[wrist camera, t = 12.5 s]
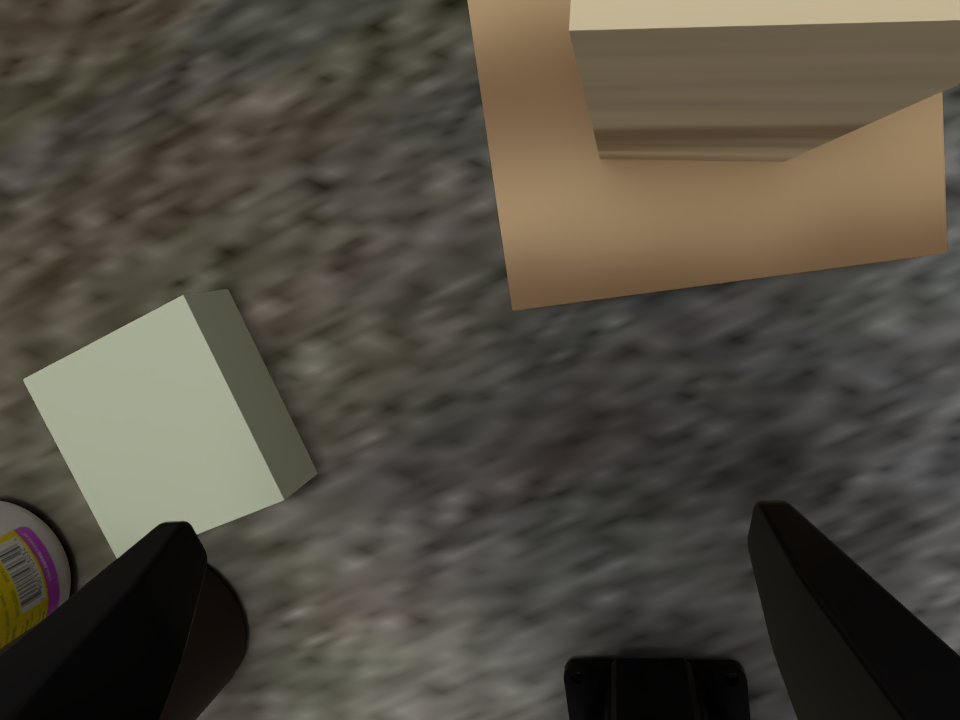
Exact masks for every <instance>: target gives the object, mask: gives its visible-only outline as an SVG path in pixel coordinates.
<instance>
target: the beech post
mask: <svg viewBox="0 0 960 720" xmlns="http://www.w3.org/2000/svg"><path fill="white" fill-rule="evenodd" d="M569 33H570V37H571V41H572V45H573V49H574V54H575V58H576V62H577V66H578V70H579V74H580V78H581V82H582V87H583V91H584V95H585V99H586V103H587V107H588V111H589V115H590V120H591V124H592V128H593V132H594V136H595V140H596V144H597V148H598V153H599V157H600V159H625V160H697V161H769V162H785V161H787V160H789V159H791V158H794V157H796V156H798V155H800V154H803V153H805V152H807V151H809V150H812V149H814V148H816V147H818V146H821V145H823V144H825V143H827V142H830V141H832V140H834V139H836V138H839V137H841V136H843V135H846V134H848V133H850V132H852V131H855V130H857V129H859V128H861V127H864V126H866V125H868V124H870V123H873V122H875V121H877V120H879V119H882V118H884V117H886V116H888V115H891V114H893V113H895V112H897V111H900V110H902V109H904V108H906V107H909V106H911V105H913V104H915V103H918V102H920V101H922V100H924V99H927V98H929V97H931V96H933V95H936V94H938V93H940V92H942V91H945V90H947V89H949V88H951V87H954V86H956V85H958V84H960V0H571V5H570V21H569Z"/></svg>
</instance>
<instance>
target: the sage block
mask: <svg viewBox="0 0 960 720" xmlns="http://www.w3.org/2000/svg"><path fill="white" fill-rule="evenodd" d="M23 381H24V383H25V385H26V387H27V389H28V391H29V392H30V394H31V396H32V398H33V400H34V402H35V404H36V406H37V408H38V410H39V412H40V413H41V415H42V417H43V419H44V421H45V423H46V425H47V427H48V429H49V431H50V432H51V434H52V436H53V438H54V440H55V442H56V444H57V446H58V448H59V450H60V452H61V453H62V455H63V457H64V459H65V461H66V463H67V465H68V467H69V469H70V471H71V472H72V474H73V476H74V478H75V480H76V482H77V484H78V486H79V488H80V490H81V492H82V493H83V495H84V497H85V499H86V501H87V503H88V505H89V507H90V509H91V511H92V513H93V514H94V516H95V518H96V520H97V522H98V524H99V526H100V528H101V530H102V532H103V533H104V535H105V537H106V539H107V541H108V543H109V545H110V547H111V549H112V551H113V553H114V554H115V556H116V558H119V557H120V556H121V555H122V554H123V553H125V552H126V551H127V550H128V549H129V548H131V547H132V546H133V545H134V544H136V543H137V542H138V541H139V540H140V539H142V538H143V537H144V536H145V535H146V534H148V533H149V532H150V531H151V530H153V529H154V528H155V527H156V526H158V525H159V524H161V523H163V522H168V521H187V522H188V523H190V524H191V525H192V527H193V529H194V531H195V532H196V534H199V533H202V532H204V531H207V530H209V529H212V528H214V527H217V526H220V525H222V524H225V523H227V522H230V521H232V520H235V519H237V518H240V517H243V516H245V515H248V514H250V513H253V512H255V511H258V510H260V509H263V508H266V507H268V506H271V505H273V504H276V503H278V502H281V501H283V500H285V499H286V498H288V497H289V496H290V495H291V494H293V493H294V492H295V491H297V490H298V489H299V488H300V487H302V486H303V485H304V484H305V483H307V482H308V481H309V480H310V479H312V478H313V477H314V476H315V475H317V474H318V472H317V470H316V468H315V466H314V464H313V462H312V460H311V458H310V456H309V454H308V452H307V450H306V448H305V446H304V444H303V442H302V440H301V438H300V435H299V433H298V431H297V429H296V427H295V425H294V423H293V421H292V419H291V417H290V415H289V413H288V411H287V409H286V407H285V405H284V403H283V401H282V399H281V396H280V394H279V392H278V390H277V388H276V386H275V384H274V382H273V380H272V378H271V376H270V374H269V372H268V370H267V368H266V366H265V364H264V362H263V360H262V357H261V355H260V353H259V351H258V349H257V347H256V345H255V343H254V341H253V339H252V337H251V335H250V333H249V331H248V329H247V327H246V325H245V323H244V321H243V318H242V316H241V314H240V312H239V310H238V308H237V306H236V304H235V302H234V300H233V298H232V296H231V294H230V292H229V290H228V289H224V290H216V291H209V292H202V293H194V294H187V295H182V296H180V297H179V298H177V299H175V300H173V301H171V302H169V303H167V304H165V305H163V306H161V307H160V308H158V309H156V310H154V311H152V312H150V313H148V314H146V315H144V316H142V317H141V318H139V319H137V320H135V321H133V322H131V323H129V324H127V325H125V326H123V327H122V328H120V329H118V330H116V331H114V332H112V333H110V334H108V335H106V336H104V337H103V338H101V339H99V340H97V341H95V342H93V343H91V344H89V345H87V346H86V347H84V348H82V349H80V350H78V351H76V352H74V353H72V354H70V355H68V356H67V357H65V358H63V359H61V360H59V361H57V362H55V363H53V364H51V365H49V366H48V367H46V368H44V369H42V370H40V371H38V372H36V373H34V374H32V375H30V376H29V377H27V378H25V379H23Z"/></svg>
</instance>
